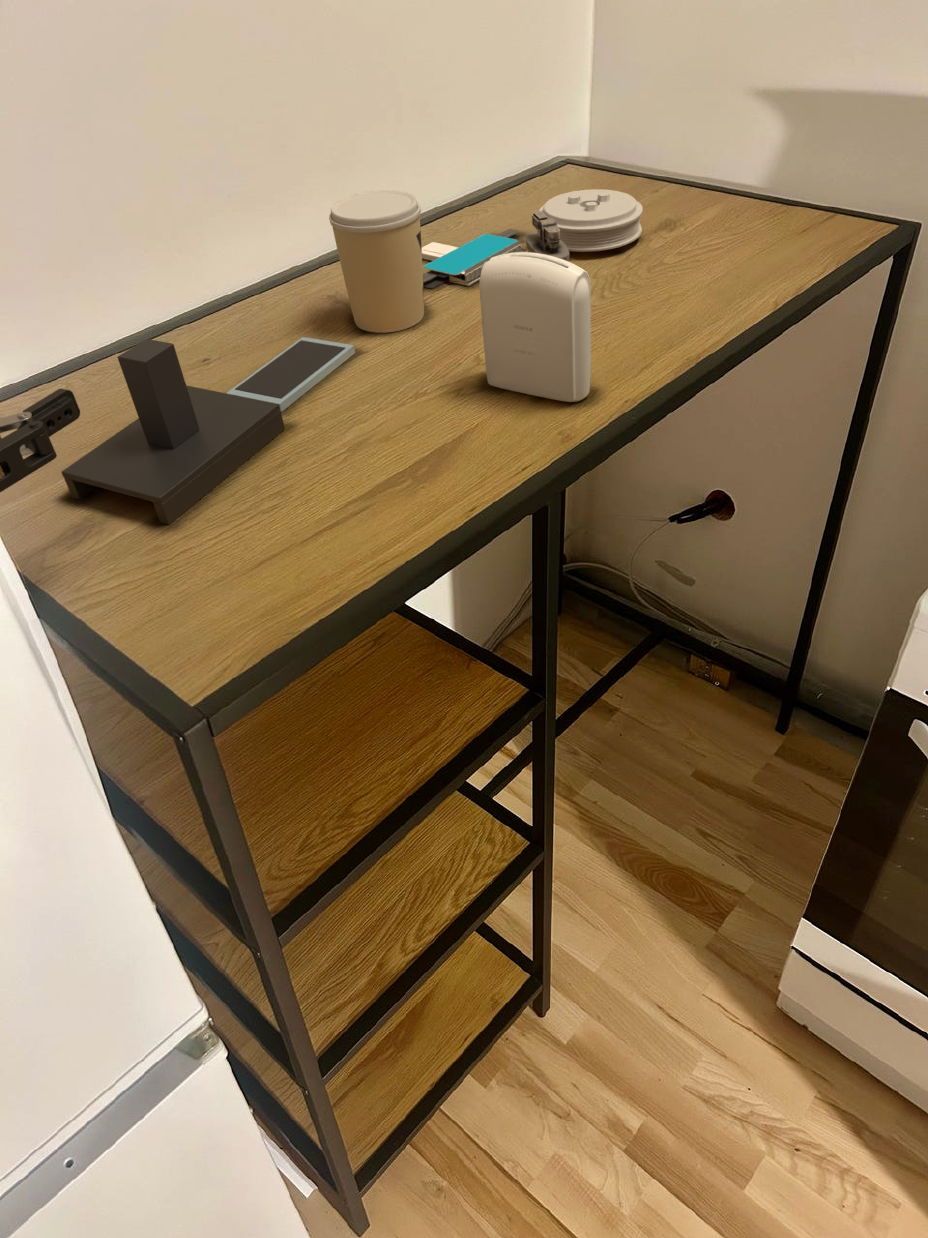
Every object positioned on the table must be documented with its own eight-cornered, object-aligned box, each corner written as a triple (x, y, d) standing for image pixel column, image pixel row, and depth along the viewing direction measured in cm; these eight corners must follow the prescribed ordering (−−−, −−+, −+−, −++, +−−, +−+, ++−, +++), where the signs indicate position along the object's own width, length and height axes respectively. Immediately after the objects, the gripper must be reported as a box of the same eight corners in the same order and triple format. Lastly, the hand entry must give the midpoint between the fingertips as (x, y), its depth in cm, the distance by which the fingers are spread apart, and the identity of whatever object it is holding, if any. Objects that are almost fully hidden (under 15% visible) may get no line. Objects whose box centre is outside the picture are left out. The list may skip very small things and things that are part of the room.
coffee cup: (448, 315, 100) (438, 200, 92) (379, 344, 96) (361, 226, 88) (398, 293, 106) (384, 182, 98) (331, 319, 102) (310, 206, 94)
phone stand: (473, 226, 121) (473, 213, 120) (548, 241, 115) (548, 227, 113) (369, 280, 110) (367, 266, 109) (445, 299, 104) (444, 285, 103)
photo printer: (479, 387, 88) (469, 256, 79) (502, 368, 90) (495, 239, 82) (576, 409, 83) (576, 273, 75) (597, 388, 85) (600, 254, 77)
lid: (657, 228, 115) (659, 185, 112) (615, 265, 107) (617, 220, 104) (565, 218, 120) (565, 177, 117) (520, 252, 113) (518, 209, 109)
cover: (169, 525, 74) (126, 407, 67) (71, 497, 79) (22, 384, 72) (285, 429, 85) (258, 318, 78) (193, 409, 89) (160, 302, 82)
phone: (281, 412, 87) (279, 403, 86) (227, 401, 90) (225, 392, 89) (355, 353, 95) (353, 344, 95) (304, 344, 98) (302, 335, 97)
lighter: (576, 327, 96) (576, 228, 89) (545, 333, 95) (542, 234, 89) (551, 298, 102) (550, 203, 95) (522, 303, 101) (518, 209, 95)
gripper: (-133, 482, 50) (83, 356, 61) (-278, 437, 56) (-58, 328, 67) (-69, 588, 55) (120, 454, 66) (-209, 537, 61) (-14, 421, 71)
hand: (30, 391), depth 66 cm, fingers open, 8 cm apart
